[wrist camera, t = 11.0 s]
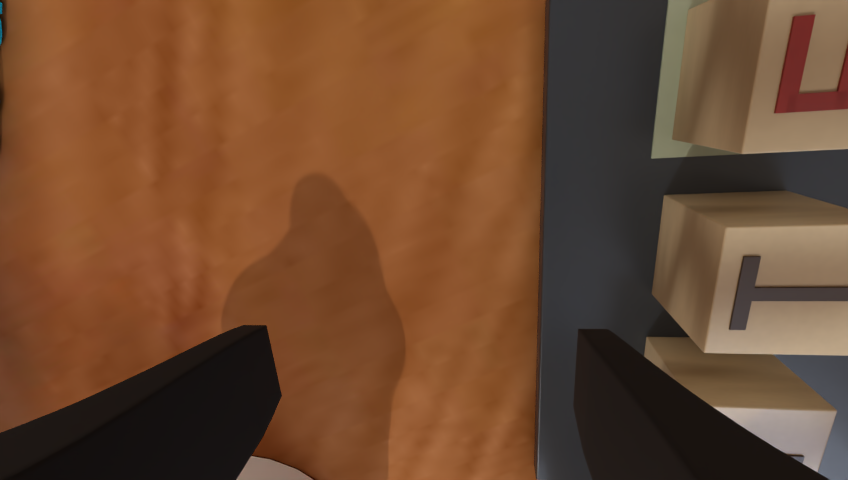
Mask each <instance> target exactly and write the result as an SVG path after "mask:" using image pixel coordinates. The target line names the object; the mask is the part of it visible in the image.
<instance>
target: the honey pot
mask: <svg viewBox="0 0 848 480" xmlns="http://www.w3.org/2000/svg"><path fill="white" fill-rule="evenodd" d="M236 480H313V479H312V478H310V477H309V476H307V475H305V474H304V473H302V472H300V471H299V470H297V469H295V468H292V467H289V466H287V465H284V464H281V463H279V462H276V461H274V460H271V459H265V458H259V457H254V456H251V457H250V459H249V460H248V462H247V463H246V465H245V467H244V468H243V470H242V471H241V473H240V475H239V476H238V478H237V479H236Z"/></svg>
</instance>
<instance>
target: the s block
mask: <svg viewBox="0 0 848 480" xmlns="http://www.w3.org/2000/svg"><path fill="white" fill-rule="evenodd" d="M672 140H676V141H681V142H686V143H691V144H696V145H701V146H705V147H710V148H715V149H720V150H725V151H730V152H735V153H740V154H754V153H775V152H796V151H817V150H838V149H848V0H709V1H707V2H704V3H702V4H700V5H698V6H695V7H693V8H691V9H689V10H688V15H687V23H686V31H685V39H684V47H683V55H682V63H681V71H680V79H679V87H678V95H677V103H676V111H675V119H674V127H673V135H672Z"/></svg>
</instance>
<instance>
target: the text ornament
mask: <svg viewBox="0 0 848 480" xmlns="http://www.w3.org/2000/svg"><path fill="white" fill-rule="evenodd" d="M0 14H2V3H1V2H0ZM1 41H2V24H1V19H0V45H1Z"/></svg>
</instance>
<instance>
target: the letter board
mask: <svg viewBox="0 0 848 480" xmlns="http://www.w3.org/2000/svg"><path fill="white" fill-rule="evenodd" d="M707 1H709V0H546V7H545V48H544V88H543V128H542V169H541V209H540V249H539V290H538V330H537V370H536V411H535V451H534V467H535V473H536V478H537V480H592V477H591V474H590V471H589V469H588V466H587V463H586V460H585V457H584V453H583V450H582V445H581V441H580V436H579V432H578V427H577V422H576V418H575V413H574V408H573V402H574V385H575V369H576V353H577V336H578V329H609V330H610V331H612V332H613V333H614V334H616V335H617V336H618V337H620V338H621V339H622V340H624V341H625V342H626V343H628V344H629V345H630V346H631V347H633V348H634V349H635V350H637V351H638V352H639V353H640V354H642V355H643V356H644V357H646V358H647V359H648V360H649V361H651V362H652V363H653V364H655V365H656V366H657V367H659V368H660V369H661V370H662V371H664V372H665V373H666V374H668V375H669V376H670V377H672V378H673V379H674V380H676V381H677V382H679V383H680V384H681V385H683V386H684V387H685V388H687V389H688V390H689V391H691V392H692V393H694V394H695V395H697V396H698V397H699V398H701V399H702V400H704V401H705V402H706V403H708V404H709V405H711V406H712V407H714V408H715V409H717V410H718V411H720V412H721V413H723V414H724V415H726V416H727V417H729V418H730V419H732V420H733V421H735V422H736V423H738V424H739V425H741V426H742V427H744V428H745V429H747V430H748V431H750V432H751V433H753V434H754V435H756V436H758V437H759V438H761V439H762V440H764V441H766V442H767V443H769V444H770V445H772V446H774V447H775V448H777V449H779V450H780V451H782V452H784V453H786V454H787V455H789V456H791V457H792V458H794V459H796V460H797V461H799V462H801V463H802V464H804V465H806V466H808V467H809V468H811V469H813V470H814V471H816V472H818V473H819V474H821V475H823V476H824V477H826V478H828V479H830V480H848V149H838V150H817V151H796V152H775V153H754V154H740V153H735V152H730V151H725V150H720V149H715V148H710V147H705V146H701V145H696V144H691V143H686V142H681V141H676V140H672V135H673V127H674V119H675V111H676V103H677V95H678V87H679V79H680V71H681V63H682V55H683V47H684V39H685V31H686V23H687V15H688V10H689V9H691V8H693V7H695V6H698V5H700V4H702V3H704V2H707Z"/></svg>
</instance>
